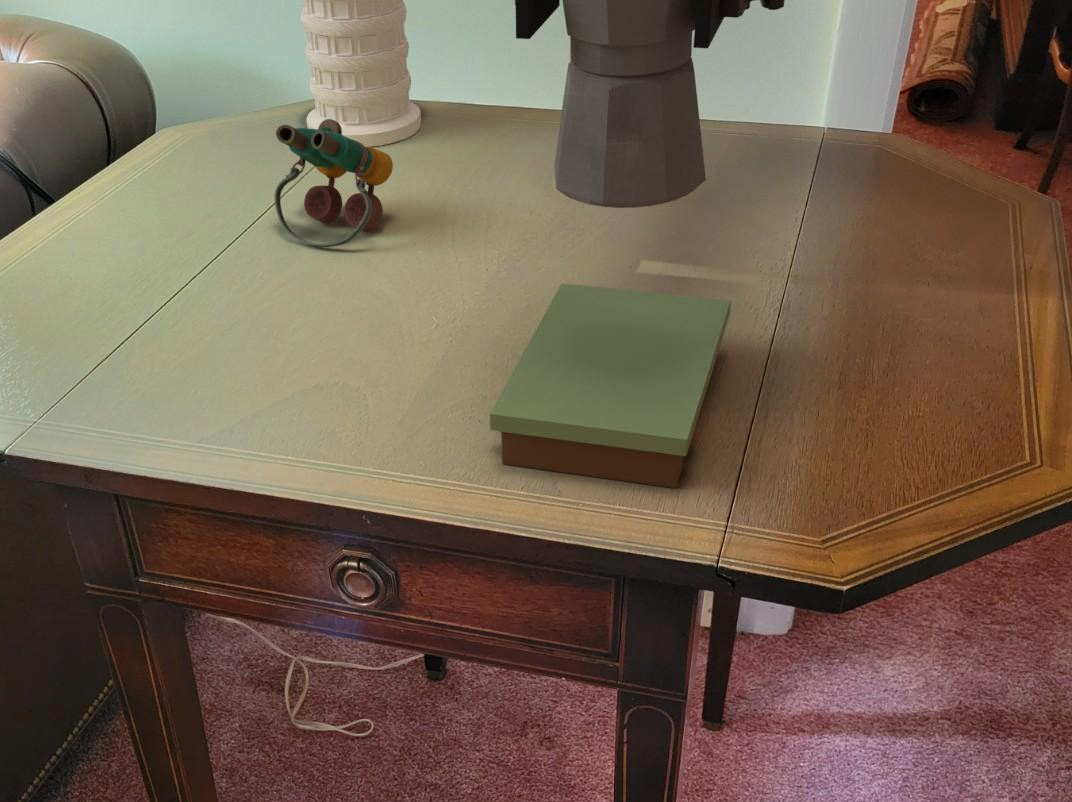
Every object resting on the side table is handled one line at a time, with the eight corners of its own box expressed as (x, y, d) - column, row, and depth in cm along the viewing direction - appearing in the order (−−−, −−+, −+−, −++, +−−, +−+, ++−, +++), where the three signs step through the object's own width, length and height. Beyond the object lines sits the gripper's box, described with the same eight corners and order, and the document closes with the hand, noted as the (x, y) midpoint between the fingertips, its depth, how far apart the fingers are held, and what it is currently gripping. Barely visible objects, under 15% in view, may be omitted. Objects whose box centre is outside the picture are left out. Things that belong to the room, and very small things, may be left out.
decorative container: (296, 118, 127) (271, -76, 115) (402, 101, 129) (388, -89, 118) (323, 155, 118) (299, -50, 107) (436, 136, 121) (424, -65, 109)
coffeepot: (757, 200, 68) (790, -177, 56) (605, 236, 66) (607, -149, 54) (631, 118, 79) (637, -211, 68) (498, 146, 77) (480, -189, 65)
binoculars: (385, 264, 104) (411, 144, 102) (328, 243, 96) (355, 113, 94) (296, 245, 108) (319, 129, 106) (233, 223, 99) (257, 98, 98)
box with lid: (725, 352, 86) (731, 300, 84) (682, 495, 73) (687, 439, 71) (560, 333, 89) (561, 283, 86) (491, 468, 76) (489, 413, 73)
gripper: (847, -13, 79) (814, 103, 62) (526, -25, 84) (419, 78, 68) (867, -147, 74) (836, -59, 58) (525, -151, 79) (409, -72, 63)
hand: (611, 15), depth 63 cm, fingers closed on coffeepot, 9 cm apart
